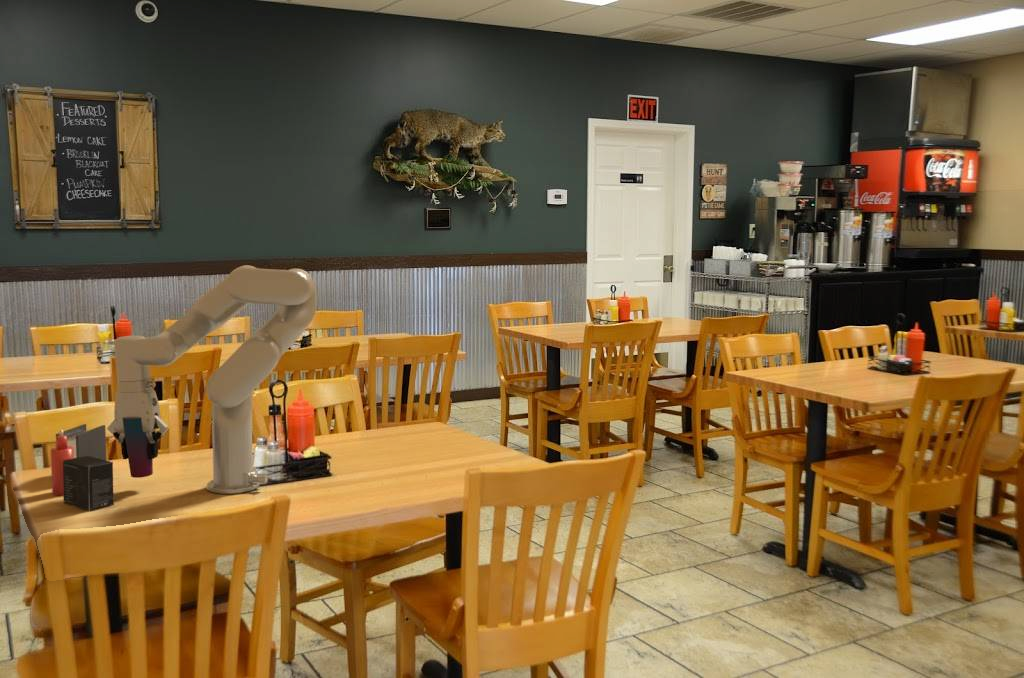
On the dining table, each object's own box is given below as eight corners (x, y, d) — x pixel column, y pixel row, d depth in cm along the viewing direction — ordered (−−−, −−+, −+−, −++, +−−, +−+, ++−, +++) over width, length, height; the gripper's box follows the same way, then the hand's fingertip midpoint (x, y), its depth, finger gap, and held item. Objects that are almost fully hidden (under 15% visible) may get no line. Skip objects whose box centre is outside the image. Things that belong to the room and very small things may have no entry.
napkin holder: (106, 470, 236) (105, 425, 234) (79, 483, 224) (77, 435, 222) (85, 469, 236) (84, 424, 235) (57, 481, 225) (55, 434, 223)
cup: (145, 479, 215) (140, 418, 213) (121, 478, 216) (115, 418, 214) (162, 471, 221) (157, 412, 219) (137, 470, 223) (133, 412, 221)
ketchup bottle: (79, 490, 218) (77, 428, 216) (67, 496, 213) (64, 433, 211) (60, 489, 219) (58, 427, 217) (47, 495, 214) (45, 432, 212)
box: (115, 504, 208) (113, 461, 206) (89, 511, 202) (87, 467, 201) (88, 496, 213) (87, 454, 212) (62, 503, 208) (60, 460, 206)
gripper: (175, 383, 218) (180, 454, 221) (110, 383, 221) (116, 453, 223) (160, 389, 211) (165, 462, 213) (92, 389, 213) (99, 461, 216)
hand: (140, 457), depth 218 cm, fingers closed on cup, 6 cm apart
